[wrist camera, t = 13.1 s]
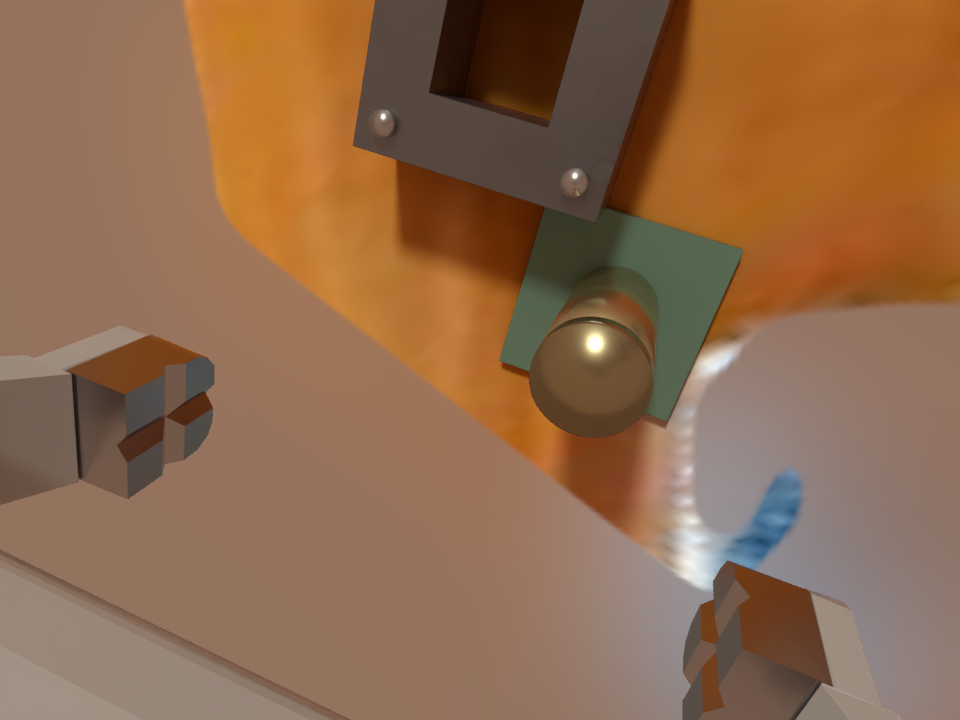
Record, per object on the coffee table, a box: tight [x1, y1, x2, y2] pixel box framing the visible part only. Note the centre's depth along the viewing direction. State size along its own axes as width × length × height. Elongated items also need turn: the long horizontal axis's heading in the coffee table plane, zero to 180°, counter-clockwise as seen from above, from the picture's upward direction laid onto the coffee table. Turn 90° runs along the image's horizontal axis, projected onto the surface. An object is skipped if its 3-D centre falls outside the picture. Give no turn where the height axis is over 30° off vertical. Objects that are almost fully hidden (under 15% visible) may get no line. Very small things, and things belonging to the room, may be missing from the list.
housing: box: [353, 0, 677, 222], centre depth 28 cm, size 12×12×6 cm
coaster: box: [499, 207, 743, 421], centre depth 34 cm, size 10×10×1 cm
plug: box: [529, 266, 659, 438], centre depth 29 cm, size 5×5×10 cm
